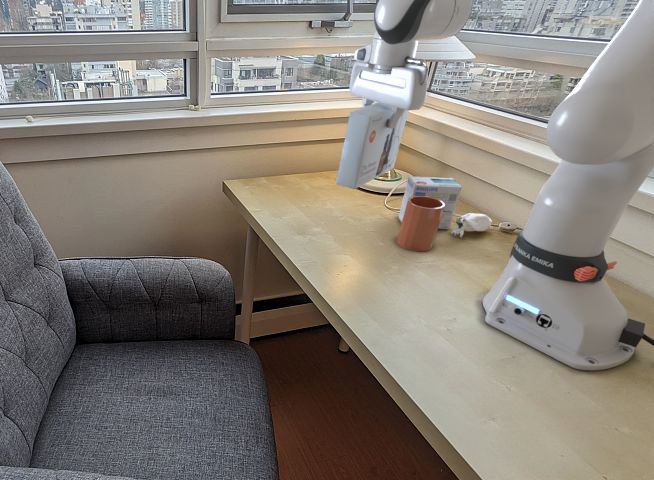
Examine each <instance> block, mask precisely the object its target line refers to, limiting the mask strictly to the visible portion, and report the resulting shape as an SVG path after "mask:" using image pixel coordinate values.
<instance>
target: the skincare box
mask: <svg viewBox="0 0 654 480" xmlns="http://www.w3.org/2000/svg"><path fill="white" fill-rule="evenodd" d="M392 108H393V106H390V105H386V104H383V103H379V102H374V103H372V105H369V106H366V107H363V106H362V107H360V108H357V109H354V110H351V111H349V115H348V121H347V126H346V131H345V136H344V142H343V145H342V150H341V155H340V160H339V166H338V171H337V175H336V179H335V185H337V186H342V187H344V188H348V189H352V190H356V189H358V188H360V187H362V186H364V185H365V184H367V183H369V182H371V181H373V180H375V179H376V178H379V177H380V176H383V174H385V173H387V172H389V171H391V170H393V169H394V167H395V164H396V161H397V157H398V152H399V149H400V146H401V141H402V138H403V134H404V130H405V127H406V122H407V119H408V116H409V111H410V110H404V113H403V114H402V116H401V117H400V118H399V120H398V122H397V126H396V128H393V129H390V128H387V127H386V123H387V119H390V118H391V116H392V114H393V112H392Z"/></svg>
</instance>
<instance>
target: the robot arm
mask: <svg viewBox="0 0 654 480" xmlns="http://www.w3.org/2000/svg"><path fill="white" fill-rule="evenodd" d="M473 8H474V0H376V4H375V7H374V12H373V23H374V27H375V31H374V34H373V37H372V43H370V44H367V45H365V46H363V47H360V48H357V49H356V50H355V51H354V54H353V55H354V56H353V59H354V60H355V62H354V64H353V66H352V70H351V74H350V80H349V93H350V95H351V96H354V97H357V98H362V101H361V105H362V108H363V107H366V106H369V105H372V104H375V103H378V102H379V103H383V104H386V105H390V106H393V108H392V112H393V114H392V116H391V118H390V119H387V123H386V127H387V128H390V129H393V128H396V126H397V122H398V120H399V118H400V117H401V116H402V114H403V113H404V110H409V111H417V110H420V109H422V107H423V106H424V105H425V102H426V96H427V91H428V83H429V70H430V68H429V66H428V63H427V62H426V60H425V59H424V58H417V57H416V55H417V50H418V45H419V42H421V41H434V40H444V39H448V38H450V37H454V36H456V35H458V34H459V33H460V32H461V31H462V30H463V28H464V27H465V26H466V25H467V23H468V21H469V20H470V18H471V15H472V12H473ZM545 132H546V133H545V135H546V141H547V144H548V147H549V148H550V150H551V151H552V153H553V154H554V155H555V156H556V157H557V158H559V159H560V161H559V163H558V165H557V166H556V168H555V169H554V171H553V173H552V174H551V175H550V176H549V178H548V179H546V181H545V182H544V184H542V186H541V188H540V189H539V192H538V194H537V197H536V199H535V202H534V203H533V206H532V209H531V211H530V213H529V216H528V218H527V220H526V223H525V225H524V227H523V229H522V230H520V231H519V233H518V235H517V237H516V238H515V241H514V243H513V245H512V248H511V250H510V255H509V260H508V262H507V264H506V266H505V267H504V269H503V271H502V273H501V274H500V276H499V277H498V279H497V280H496V282H495V283H494V285H493V286H492V288H491V289H490V290H489V291H488V293H486V294H485V295H484V297H483V298H482V306H483V309H484V310H485V313H486V315H485V317H484V322H485V323H487V325H489V326H491V327H493V328H495V329H497V330H499V331H501V332H503V333H505V334H506V335H508V336H510V337H512V338H514V339H516V340H518V341H520V342H522V343H523V344H526V345H528V346H530V347H532V348H533V349H535V350H537V351H540V352H541V353H543V354H545V355H547V356H549V357H550V358H553V359H555V360H557V361H559V362H561V363H563V364H564V365H566V366H569V367H571V368H573V369H575V370H581V371H602V370H608V369H611V368H615V367H618V366H620V365H622V364H624V363H626V362H628V361H629V360H630V359H631V358H632V357H633V355H634V353H635V351H636V349H635V348H637V346H638V345H639V343H640V342H641V341H642V340H644V341H645V342H647V343H648V344H650V345H651V346H653V347H654V338H651V337H650V336H648V335H647V334H645V333H644V332H645V327H646V323H645V322H642V321H639V320H635V319H632V318H629V314H628V312H627V310H626V309H625V307H624V306H623V304H622V303H621V302H620V301H619V299H618V298H617V296H616V294H615V293H614V292H613V290H612V288H611V287H610V285H609V284H608V283H607V281H606V279H605V278H604V277H605V275H606V273H607V271H610V270H613V269H614V268H615V266H616V265H617V263H618V261H611V262H608V263H607V260H606V257H605V250H604V249H605V247H606V245H607V244H608V242H609V241H610V240H609V239H610V238H611V237H612V235H613V232H614V231H615V229H616V227H617V225H618V223H619V222H620V219H621V218H622V216H623V214H624V212H625V210H626V209H627V207H628V206H629V204H630V202H631V201H632V199H633V198H634V196H635V194H636V193H637V192H638V191H639V189H640V188H641V186H642V185H643V183H644V182H645V181H646V179H647V178H648V176H649V175H650V173H651V172H652V170H653V169H654V0H639V1H638V3H637V5H636V6H635V8H634V9H633V11H632V12H631V14H630V15H629V16H628V18H627V19H626V20H625V22H624V24H623V25H622V26H621V27H620V29H619V30H618V31H617V33H616V34H615V35H614V36H613V38H612V39H611V40H610V42H609V43H608V44H607V45H606V46H605V48H604V49H603V50H602V51H601V53H600V54H599V55H598V56H597V57H596V59H595V60H594V62H592V64H591V65H590V67H589V68H588V69H587V71H586V72H585V73H584V75H583V76H582V77H581V79H580V81H579V82H578V83H577V84H576V85H575V87H574V88H573V89H572V91H571V92H570V93H569V94H568V95H567V96H566V97H565V99H563V100H562V101H561V102H560V103H559V105H557V106H556V108H555V109H554V110H553V111H552V113H551V115H550V116H549V119H548V122H547V125H546V131H545Z"/></svg>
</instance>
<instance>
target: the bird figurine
mask: <svg viewBox="0 0 654 480" xmlns="http://www.w3.org/2000/svg"><path fill="white" fill-rule="evenodd" d="M454 222H455V224H456V227H455V228H453V229H451V232H450V234H451V235H453V234H454V235H458V237H460V238H461V239H462V237H463V236H464V233H465V232H485V231H486V230H493V229H495V227H494V226H492V224H493V220H492V219H491V218H490V217H489V216H488V214H484V213H475V212H474V213H473V212H469V213H465V214H464V215H460V216H458V217H457V218H456V219H455V221H454Z"/></svg>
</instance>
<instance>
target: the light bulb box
mask: <svg viewBox="0 0 654 480" xmlns="http://www.w3.org/2000/svg"><path fill="white" fill-rule="evenodd" d="M406 181H407V182H406V186H405V190H404V194H403V198H402V202H401V207H400V210H399V214H398V219H399V220H400V223H402V220H403V216H404V212H405V208H406V204H407V201H408V198H410V197H412V196H428V197H433V198H436V199H439V200H441V201H442V202H444V203H445V207H444V210H443V214H442V217H441V220H440V223H439V226H438V230H449V229H450V227H451V224H452V220H453V217H454V215H455V211H456V207H457V205H458V202H459V198H460V195H461V192H462V188H463V186H462V185H461V184H460V183H459V182H458V181H457V180H456V179H455V178H454V177H436V176H435V177H434V176H433V177H432V176H431V177H430V176H409V175H408V178H407V180H406Z"/></svg>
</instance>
